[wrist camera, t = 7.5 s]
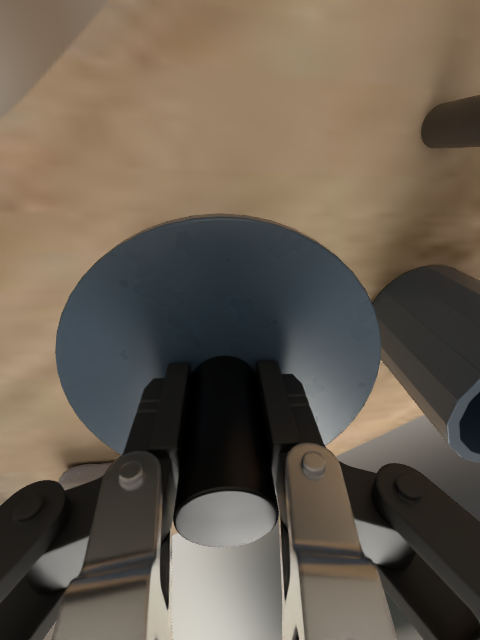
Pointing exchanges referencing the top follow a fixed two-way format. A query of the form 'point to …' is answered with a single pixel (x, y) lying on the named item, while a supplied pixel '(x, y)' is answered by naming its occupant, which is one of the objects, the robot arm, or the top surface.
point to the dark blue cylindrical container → (436, 349)
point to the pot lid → (218, 352)
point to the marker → (453, 124)
